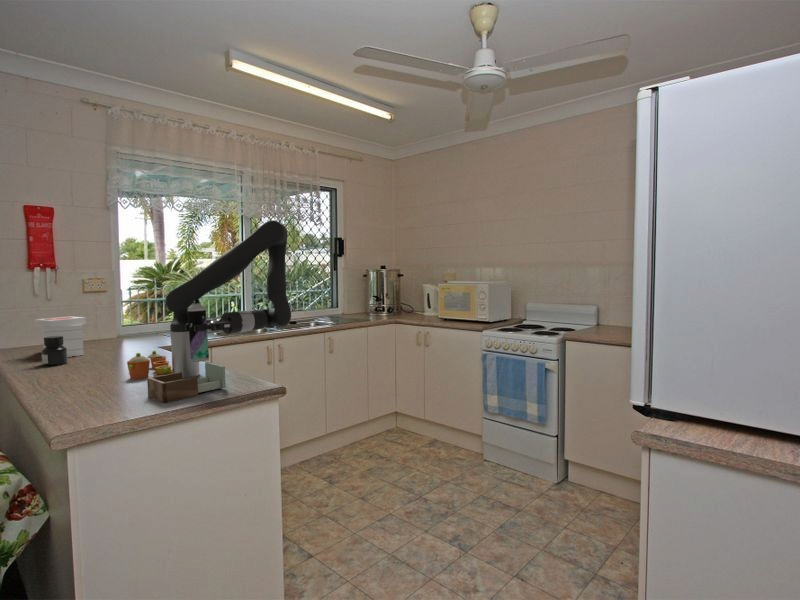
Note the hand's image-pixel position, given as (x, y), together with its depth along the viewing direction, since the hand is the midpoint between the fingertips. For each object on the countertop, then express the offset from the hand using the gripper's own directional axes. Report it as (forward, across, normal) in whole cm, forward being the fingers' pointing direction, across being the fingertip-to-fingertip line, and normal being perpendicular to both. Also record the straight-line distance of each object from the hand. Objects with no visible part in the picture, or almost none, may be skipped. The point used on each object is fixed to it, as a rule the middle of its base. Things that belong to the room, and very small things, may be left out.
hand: (190, 327), depth 149 cm
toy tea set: (-3, -43, +21) cm, 48 cm away
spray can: (-3, 0, +11) cm, 11 cm away
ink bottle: (+16, -96, +20) cm, 99 cm away
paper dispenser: (+7, -124, +20) cm, 126 cm away
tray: (-2, 0, +21) cm, 21 cm away
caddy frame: (+6, 0, +21) cm, 22 cm away
